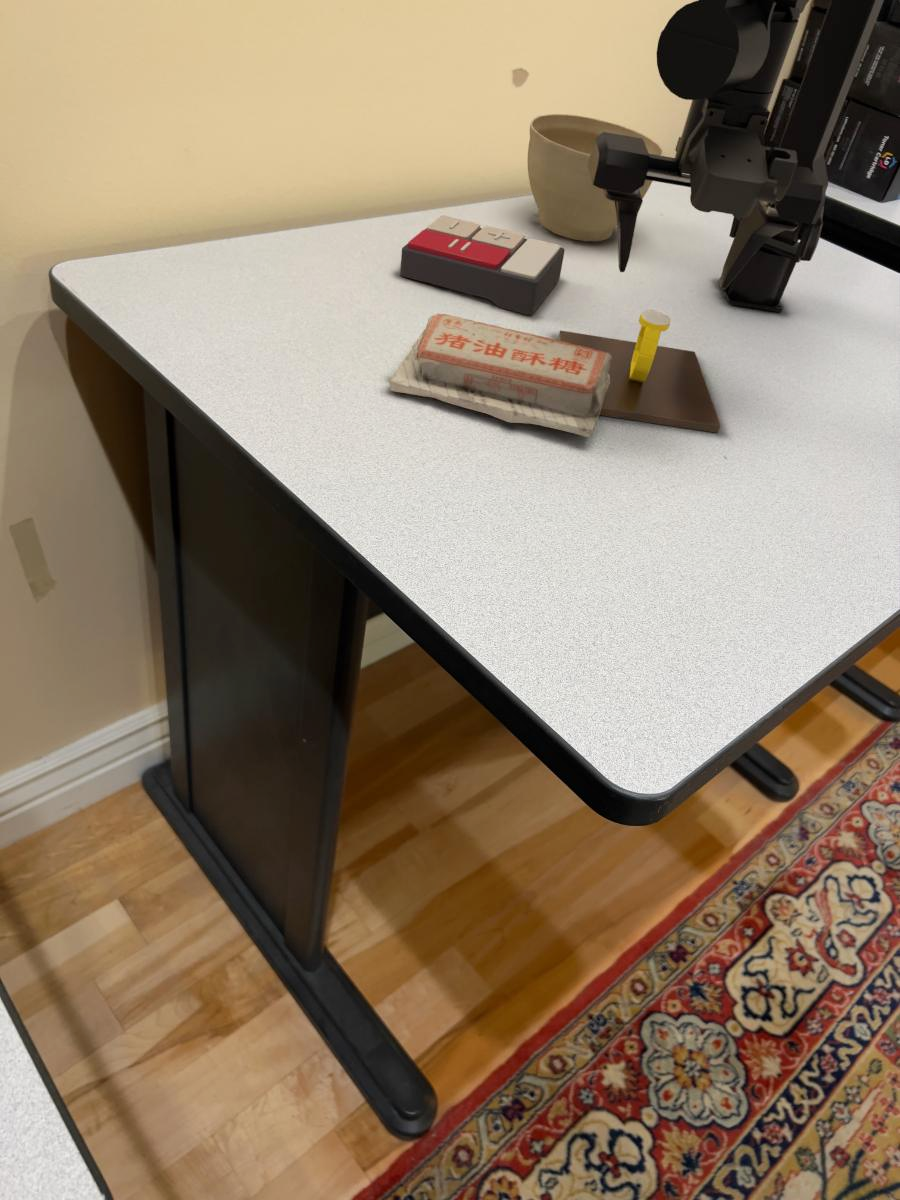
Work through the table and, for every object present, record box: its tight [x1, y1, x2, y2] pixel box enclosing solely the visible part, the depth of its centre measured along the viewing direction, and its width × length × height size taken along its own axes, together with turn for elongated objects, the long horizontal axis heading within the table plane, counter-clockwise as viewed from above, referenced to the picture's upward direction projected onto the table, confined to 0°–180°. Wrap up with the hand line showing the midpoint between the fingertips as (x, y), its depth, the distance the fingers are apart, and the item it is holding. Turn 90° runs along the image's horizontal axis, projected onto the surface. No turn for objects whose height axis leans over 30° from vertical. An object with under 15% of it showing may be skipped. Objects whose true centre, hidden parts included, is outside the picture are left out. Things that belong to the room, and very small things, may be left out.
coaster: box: [557, 330, 722, 434], centre depth 84 cm, size 14×14×1 cm
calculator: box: [399, 214, 566, 316], centre depth 95 cm, size 11×4×15 cm
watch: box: [629, 309, 671, 383], centre depth 82 cm, size 6×3×6 cm, turn 169°
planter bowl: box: [527, 113, 665, 243], centre depth 109 cm, size 16×16×11 cm
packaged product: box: [389, 313, 612, 439], centre depth 77 cm, size 18×5×10 cm
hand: (671, 278), depth 78 cm, fingers open, 9 cm apart
